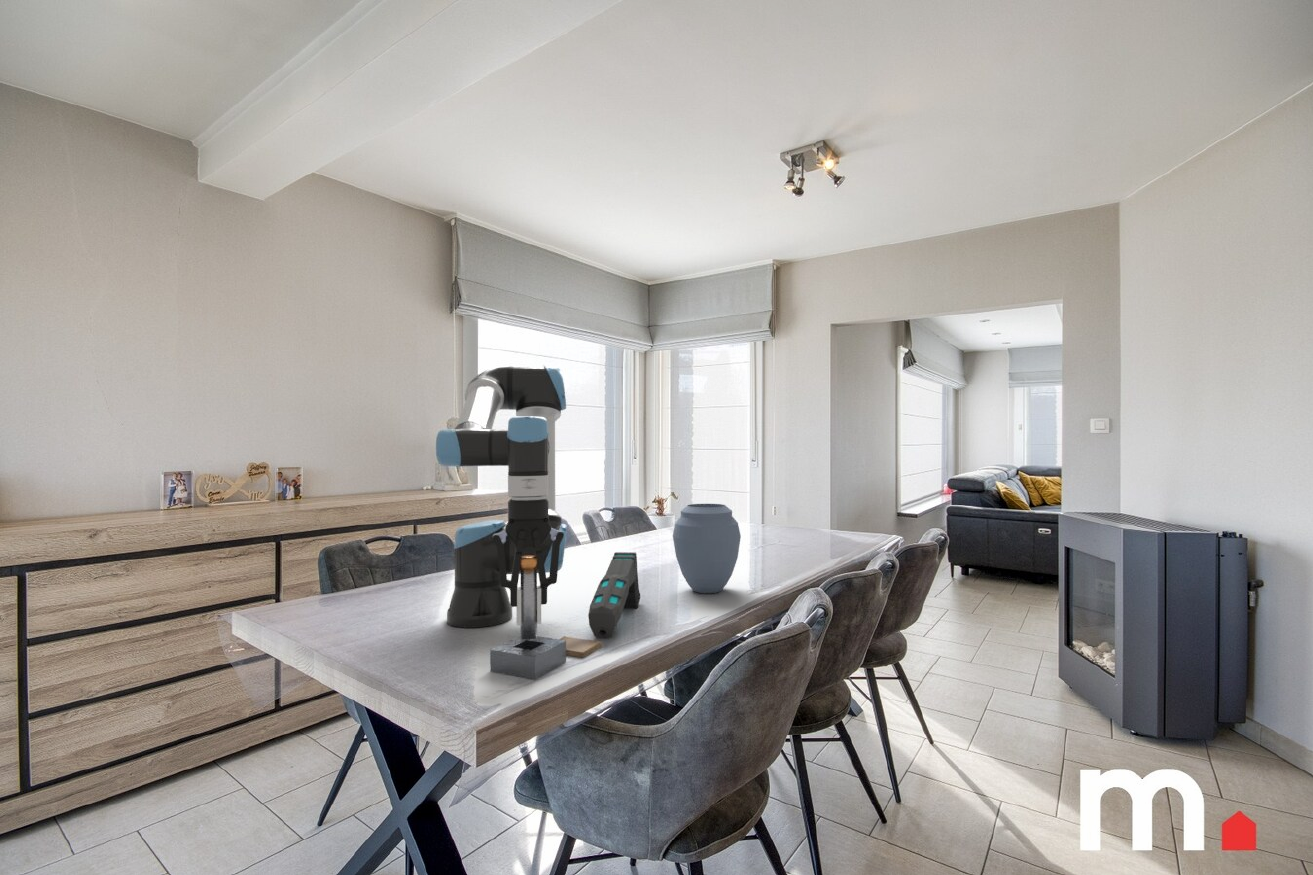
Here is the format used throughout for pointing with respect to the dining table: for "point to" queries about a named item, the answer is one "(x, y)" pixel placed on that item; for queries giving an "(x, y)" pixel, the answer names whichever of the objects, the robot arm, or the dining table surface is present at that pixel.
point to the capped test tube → (528, 597)
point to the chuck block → (528, 657)
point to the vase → (706, 546)
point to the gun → (614, 594)
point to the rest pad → (580, 646)
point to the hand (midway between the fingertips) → (528, 622)
